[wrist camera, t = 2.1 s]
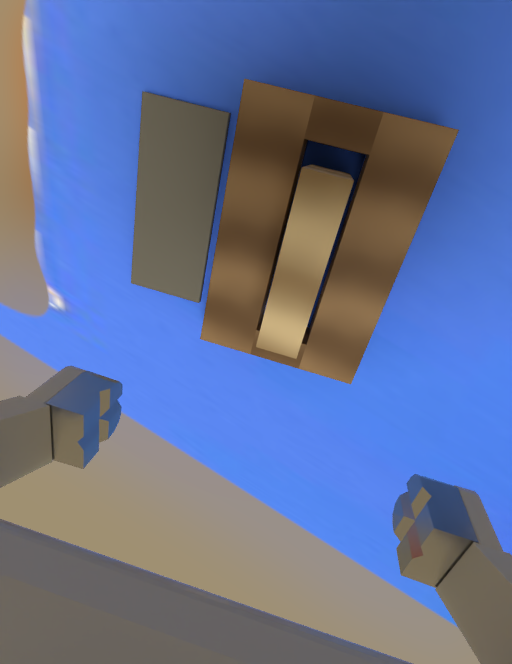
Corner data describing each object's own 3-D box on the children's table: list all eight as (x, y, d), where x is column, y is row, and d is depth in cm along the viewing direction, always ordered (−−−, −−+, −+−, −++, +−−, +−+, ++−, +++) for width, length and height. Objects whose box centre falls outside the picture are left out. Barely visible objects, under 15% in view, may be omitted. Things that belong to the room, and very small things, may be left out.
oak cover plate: (311, 164, 28) (301, 167, 20) (349, 173, 28) (354, 180, 20) (275, 302, 34) (255, 346, 26) (306, 311, 34) (296, 358, 26)
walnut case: (255, 87, 27) (244, 78, 24) (444, 132, 26) (458, 129, 23) (211, 323, 36) (200, 339, 33) (349, 363, 35) (350, 384, 32)
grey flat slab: (145, 92, 28) (142, 91, 28) (230, 113, 28) (229, 112, 27) (133, 281, 36) (131, 283, 35) (200, 301, 35) (198, 302, 35)
